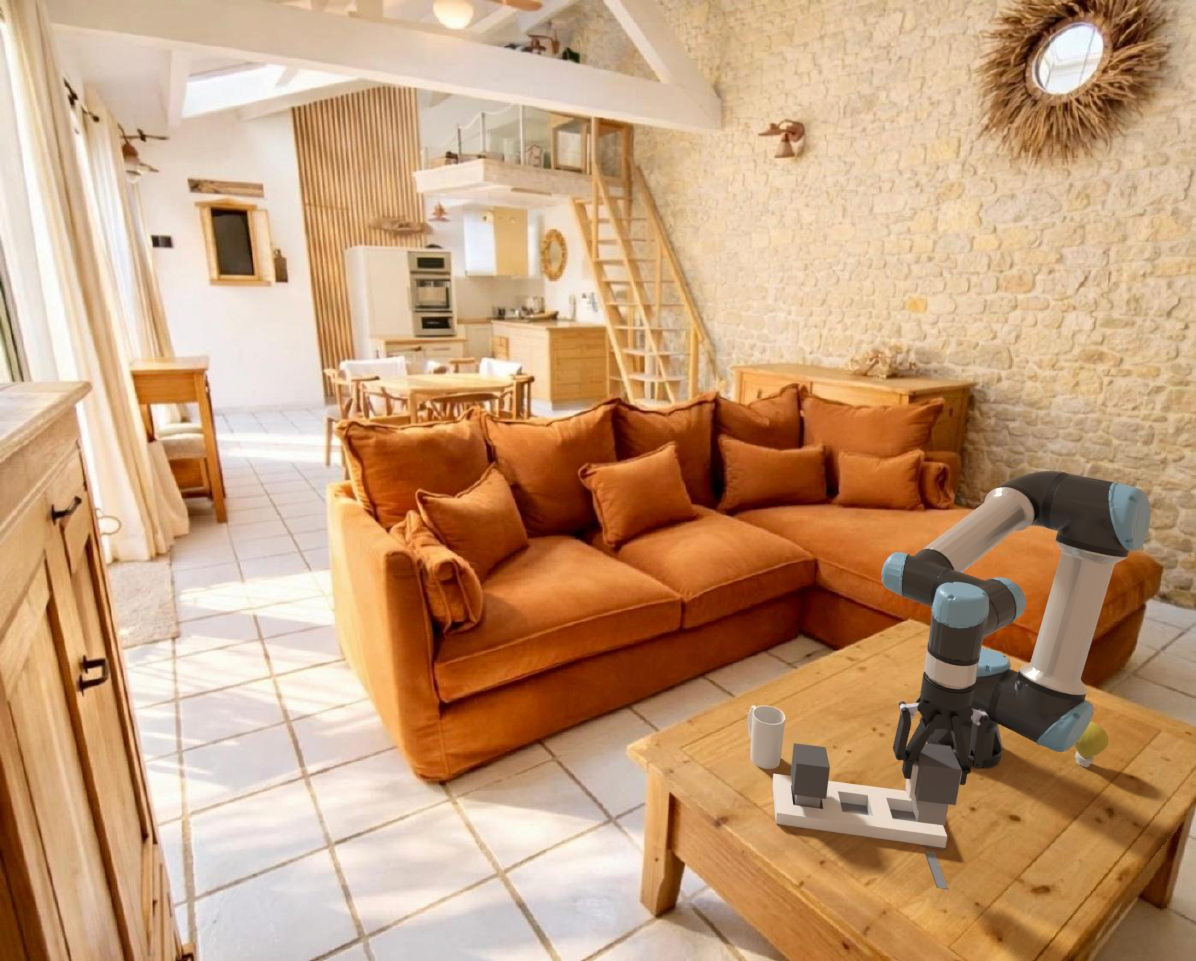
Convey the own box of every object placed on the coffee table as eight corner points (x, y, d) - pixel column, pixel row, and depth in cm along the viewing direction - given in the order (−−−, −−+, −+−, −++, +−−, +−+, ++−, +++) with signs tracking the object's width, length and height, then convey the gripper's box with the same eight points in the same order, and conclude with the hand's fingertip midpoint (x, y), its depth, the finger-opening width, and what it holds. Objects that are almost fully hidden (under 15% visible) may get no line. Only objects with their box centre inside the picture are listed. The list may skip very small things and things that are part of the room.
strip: (927, 808, 135) (931, 790, 134) (944, 852, 124) (948, 832, 123) (771, 788, 140) (773, 770, 139) (775, 828, 130) (777, 809, 128)
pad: (934, 854, 124) (934, 852, 124) (947, 891, 116) (948, 888, 116) (887, 848, 125) (888, 845, 125) (898, 884, 118) (898, 881, 117)
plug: (941, 803, 120) (950, 746, 117) (951, 829, 115) (961, 769, 111) (904, 799, 121) (913, 742, 118) (913, 825, 116) (922, 765, 112)
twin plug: (819, 798, 136) (825, 747, 133) (823, 820, 130) (829, 767, 127) (788, 794, 137) (793, 743, 134) (791, 816, 131) (796, 763, 128)
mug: (787, 768, 146) (792, 720, 143) (761, 777, 143) (765, 727, 140) (758, 741, 155) (762, 694, 151) (733, 748, 152) (737, 701, 149)
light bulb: (1097, 758, 150) (1107, 719, 147) (1104, 777, 144) (1115, 737, 141) (1061, 750, 153) (1070, 711, 150) (1067, 768, 147) (1076, 728, 144)
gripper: (1004, 669, 112) (982, 786, 119) (882, 659, 116) (867, 773, 122) (1022, 696, 105) (998, 819, 112) (892, 684, 108) (876, 804, 115)
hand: (930, 795), depth 117 cm, fingers closed on plug, 6 cm apart
